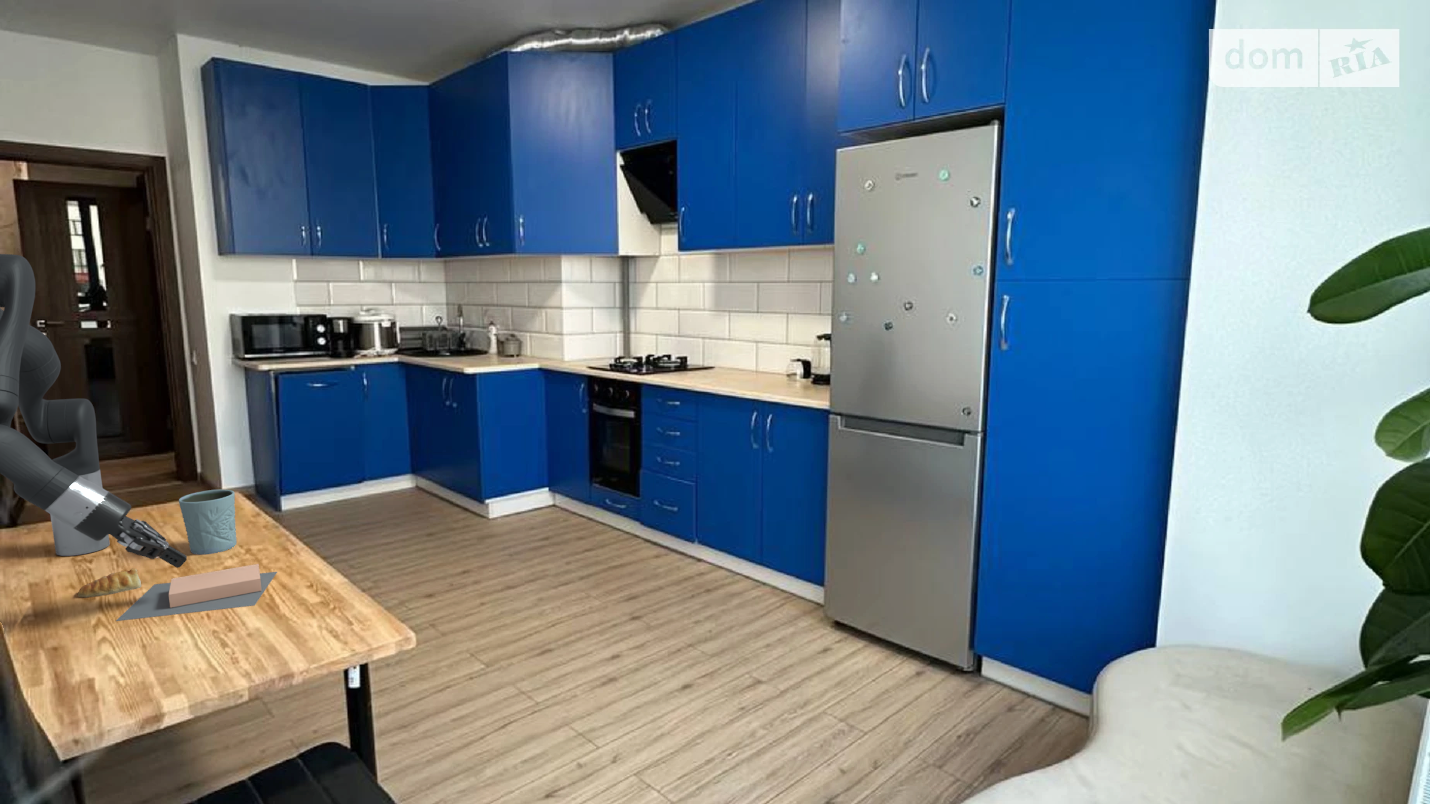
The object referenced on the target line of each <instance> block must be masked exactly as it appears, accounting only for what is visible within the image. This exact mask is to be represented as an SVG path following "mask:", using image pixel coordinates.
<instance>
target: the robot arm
mask: <svg viewBox="0 0 1430 804" xmlns="http://www.w3.org/2000/svg"><path fill="white" fill-rule="evenodd" d="M35 299H36V278H35V274H34V270H33V268H32V266H31V264H30V261H28V260H27V258H25V257H24V256H22V255H19V254H9V253H0V474H1V475H2V476H3V477H4V478H6V479H8V480H9V481H10V482H12V484H13V491H14V492H15V494H16V495H17V496H19V497H20V498H22V499H24V500H25V501H27V502H29V503H30V504H32V505H34V506H36V507H38V508H40V509H41V510H43V511H45V512H46V513H48V514H50V522H51V528H52V535H53V536H52V537H53V543H54V544H53V545H54V550H55V554H56V555H57V556H63V557H68V556H70V557H71V556H79V555H85V554H90V553H94V552H98V551H101V550H105V548H108V547H109V546H110V543H111V542H110V536H111V537H112V538H114V539H116V542H117V544H119V545H121V546H123V547H125V548H124V549H125V550H126V552H128V553H131V554H132V555H133V554H134V555H137V556H140V557H142V558H143V557H144V558H147V559H150V560H155V559H161V560H162V561H164V562H166V563H167V564H169V565H171V566H173V567H175V568H177V569H178V568H181V567H182V566H183V565H184V564H185V563H186V561H187V557H188V556H187V555H186V554H184V553H183V552H181V551H179V550H177V549H176V548H174V547H173V546H171V545H170V544H169V542H168V541H167V538H166V537H165V536H163V535H162V534H161V533H159V532H158V531H157V530H156V529H155V528H154V527H152V526H151V525H150V524H149V523H147V521H146V520H140V519H137V518H135V519H133V518H131V517H128V516H127V515H128V514H129V512H130V510H131V509H132V505H131V504H130V503H128V502H127V501H126V500H124V499H122V498H120V497H118V496H117V495H115V494H113V493H112V492H110V491H109V490H106V489H105V488H103V482H102V475H101V474H102V473H101V467H100V459H99V457H100V456H99V449H98V437H97V420H96V413H95V407H94V406H93V404H92V402H91V401H90V400H89V399H88V398H66V399H65V398H63V399H62V398H61V399H45V398H43V397H44V396H45V394H46V393H47V392H48V391H49V389H50V388H51V387H52V386H53V385H54V383H55V382H56V380H57V379H58V377H59V375H60V373H61V370H62V366H61V365H62V364H61V360H60V358H59V355H58V354H57V352H56V349H55V347H54V345H53V343H52V341H51V340H50V339H49V337H47V335H46V334H44V333H43V332H42V331H41V330H39V329H37V328H36V327H35V326H32V325H30V321H31V317H32V312H33V307H34V303H35ZM2 308H3V309H2ZM18 408H19V410H20V414H21V416H22V418H23V421H24V423H25V426H26V427H27V428H26V429H27V431H28V432H29V434H30V436H31V437H32V439H34V440H35V442H37V443H40V444H60V443H74V442H75V448H74V449H73V450H71V451H70V452H68V453H65V454H63V455H62V456H58V457H55V458H53V459H52V458H50V456H48V455H47V454H46V452H44V451H43V450H42V449H41V447H39V446H38V445H36V444H35V443H34V442H33V441H32V440H31V439H30V438H29V437H27V436H26V435H25V434H24V433H21V432H20V431H18V430H17V429H14V428H13V427H11V424H12V420H13V418H14V416H15V415H16V413H17V411H18Z"/></svg>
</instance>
